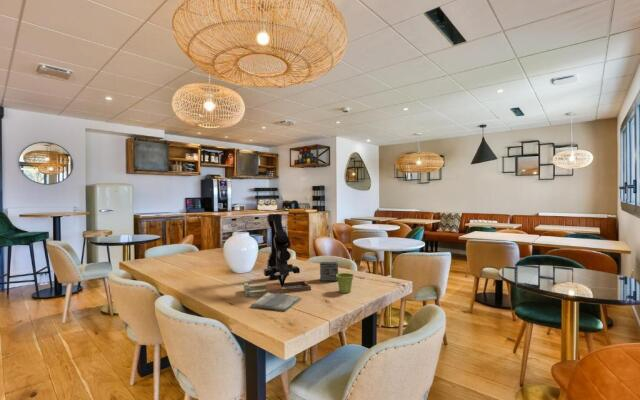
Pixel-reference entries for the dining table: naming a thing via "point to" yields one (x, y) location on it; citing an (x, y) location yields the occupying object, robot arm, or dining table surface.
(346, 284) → the plant pot
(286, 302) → the dish towel
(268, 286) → the block
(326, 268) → the small box
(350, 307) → the dining table surface
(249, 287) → the channel
